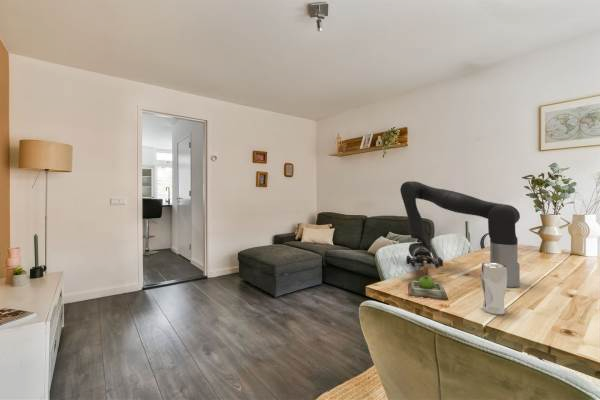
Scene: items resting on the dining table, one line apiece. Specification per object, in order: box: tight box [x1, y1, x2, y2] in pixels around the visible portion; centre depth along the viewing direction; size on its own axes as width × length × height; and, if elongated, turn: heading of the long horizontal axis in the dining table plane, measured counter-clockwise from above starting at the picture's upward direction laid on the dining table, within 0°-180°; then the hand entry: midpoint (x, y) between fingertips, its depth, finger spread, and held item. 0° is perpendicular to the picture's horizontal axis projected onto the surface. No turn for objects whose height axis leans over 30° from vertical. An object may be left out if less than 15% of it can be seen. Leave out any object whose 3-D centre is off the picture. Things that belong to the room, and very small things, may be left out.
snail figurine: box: [418, 258, 435, 290], centre depth 106 cm, size 5×6×12 cm
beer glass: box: [480, 262, 508, 316], centre depth 89 cm, size 7×7×15 cm
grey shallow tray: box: [407, 280, 449, 301], centre depth 106 cm, size 13×12×3 cm
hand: (425, 265), depth 113 cm, fingers open, 8 cm apart
